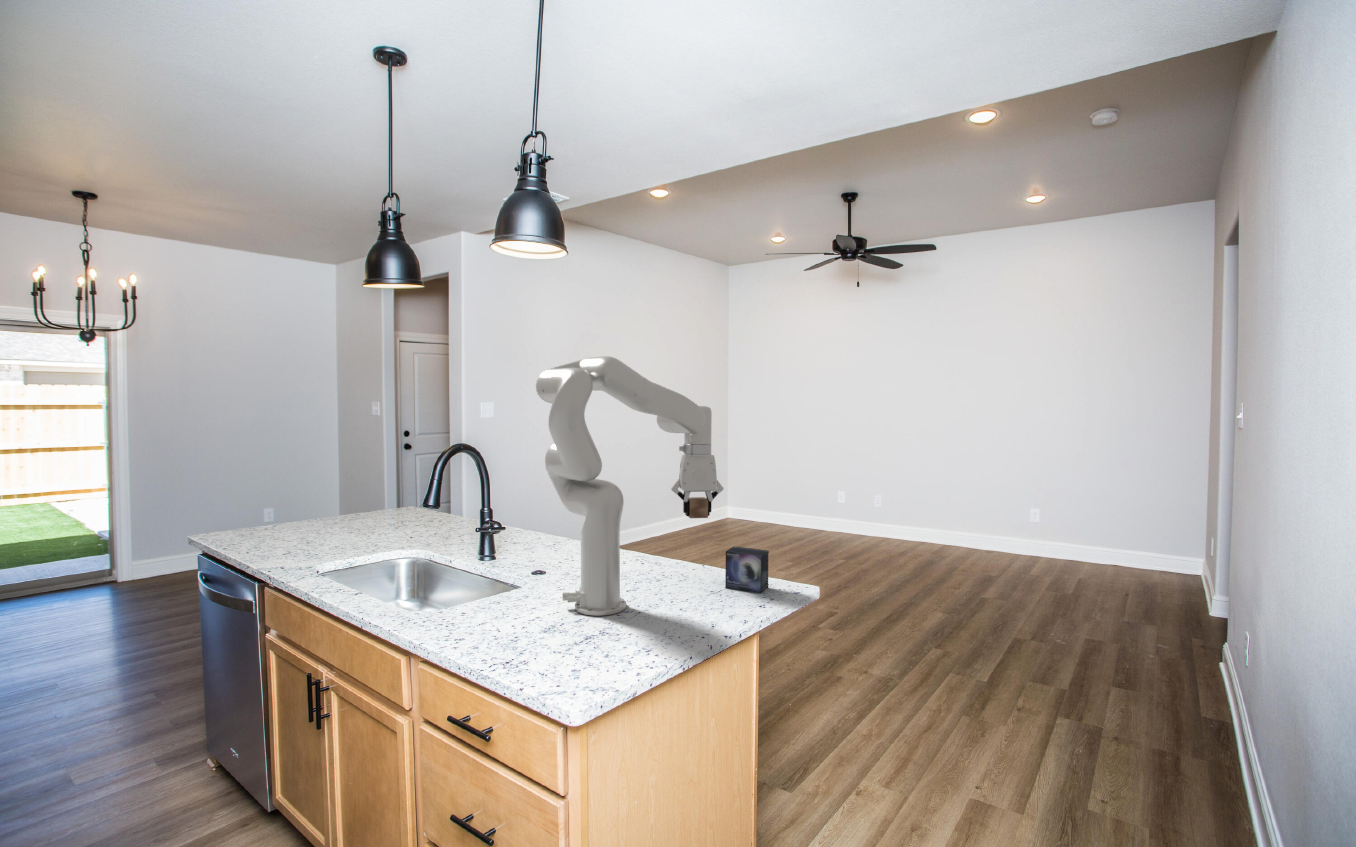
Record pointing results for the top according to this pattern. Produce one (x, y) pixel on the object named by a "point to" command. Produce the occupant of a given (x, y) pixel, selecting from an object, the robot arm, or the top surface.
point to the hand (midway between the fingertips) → (697, 514)
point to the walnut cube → (698, 507)
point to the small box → (747, 569)
